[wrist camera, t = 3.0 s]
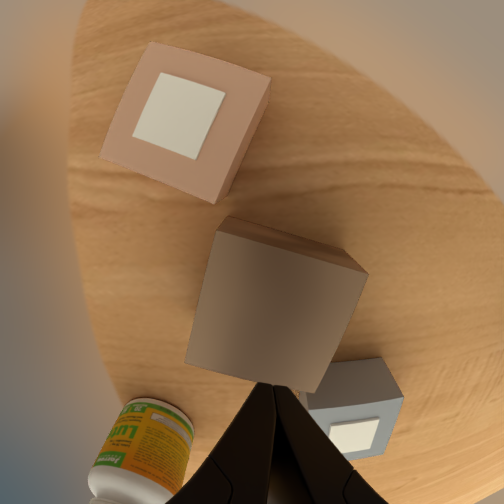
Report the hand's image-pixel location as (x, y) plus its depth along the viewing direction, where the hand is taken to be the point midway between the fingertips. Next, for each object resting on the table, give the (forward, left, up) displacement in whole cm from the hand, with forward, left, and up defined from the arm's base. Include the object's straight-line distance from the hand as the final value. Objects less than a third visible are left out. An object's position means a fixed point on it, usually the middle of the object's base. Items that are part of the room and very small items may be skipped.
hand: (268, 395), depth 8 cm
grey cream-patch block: (-6, +6, -8) cm, 12 cm away
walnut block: (0, 0, -8) cm, 8 cm away
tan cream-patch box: (+5, -7, -8) cm, 12 cm away
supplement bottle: (+5, +12, -8) cm, 15 cm away
